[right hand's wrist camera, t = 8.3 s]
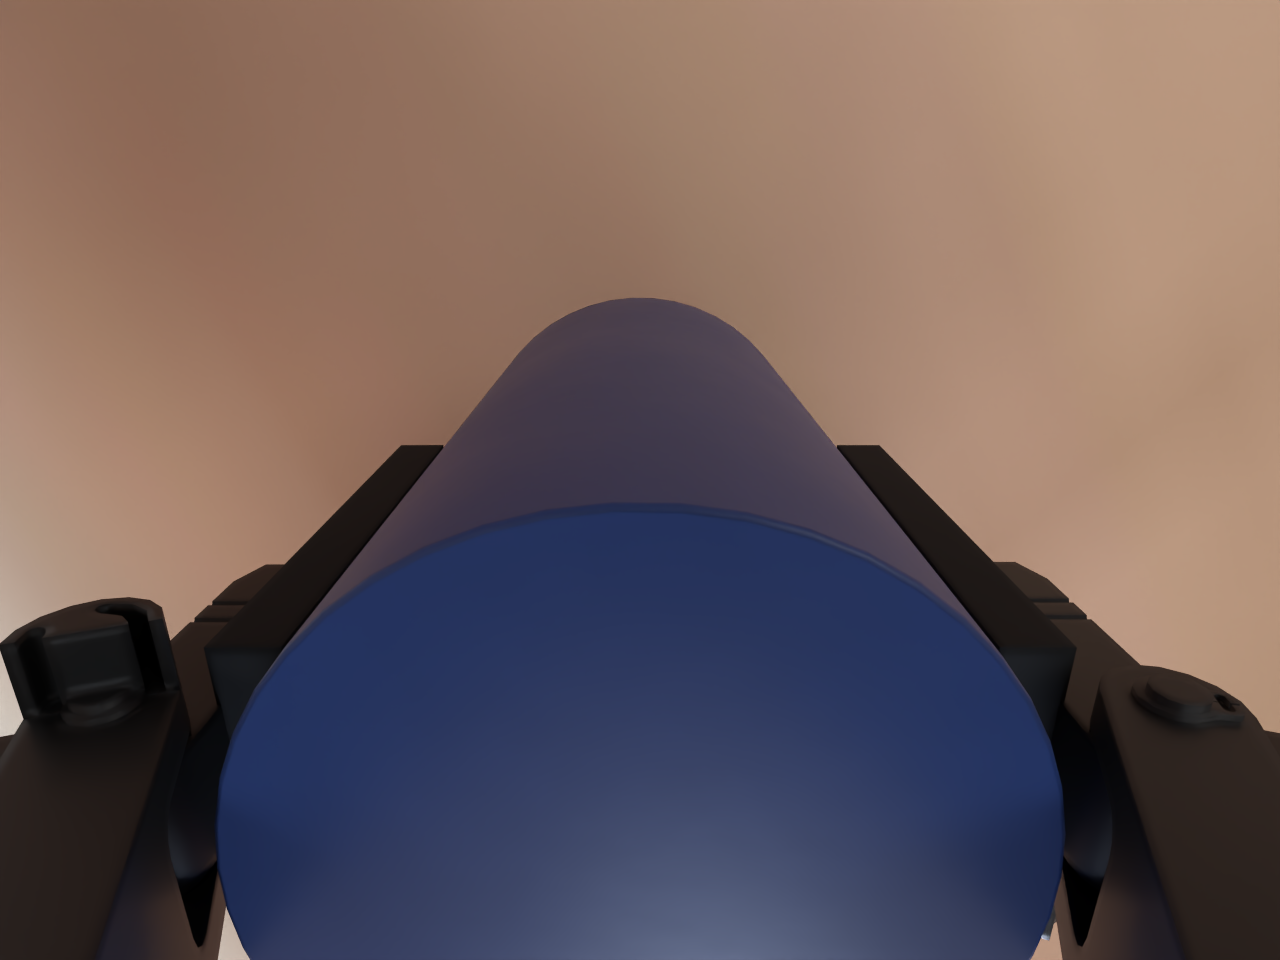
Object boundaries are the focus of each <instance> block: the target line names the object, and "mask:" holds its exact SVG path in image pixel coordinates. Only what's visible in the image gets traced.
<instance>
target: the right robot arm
mask: <svg viewBox="0 0 1280 960" xmlns="http://www.w3.org/2000/svg"><path fill="white" fill-rule="evenodd" d="M443 448H444V447H443V445H401V446H400V447H399V448H398V449H397V450H396V451H395V452H394V453H393V454H392V455H391V456H390V457H389V458H388V459H387V460H386V461H385V462H384V463H383V464H382V465H381V467H380V468H379V469H378V470H377V471H376V472H375V473H374V474H373V475H372V476H371V477H370V478H369V479H368V480H367V481H366V482H365V483H364V484H363V485H362V486H361V487H360V488H359V489H358V490H357V491H356V492H355V493H354V494H353V495H352V496H351V497H350V498H349V499H348V500H347V501H346V502H345V503H344V504H343V505H342V506H341V507H340V508H339V509H338V510H337V512H336V513H335V514H334V515H333V516H332V517H331V518H330V519H329V520H328V521H327V522H326V523H325V524H324V525H323V526H322V527H321V528H320V529H319V530H318V531H317V532H316V533H315V534H314V535H313V536H312V537H311V538H310V539H309V540H308V541H307V542H306V543H305V544H304V545H303V546H302V547H301V548H300V549H299V550H298V551H297V552H296V553H295V554H294V556H293V557H292V558H291V559H290V560H289V561H288V562H287V563H286V564H285V565H264V566H262V567H260V568H259V569H257V570H255V571H253V572H251V573H249V574H247V575H245V576H243V577H241V578H239V579H237V580H236V581H234V582H233V583H231V584H230V585H229V586H228V587H227V588H226V589H225V590H224V591H223V592H222V593H221V594H220V595H219V596H218V597H217V598H215V599H214V600H213V601H212V605H208V606H207V607H206V608H205V609H204V610H203V611H202V612H201V613H199V614H198V615H197V616H196V617H195V621H194V622H190V623H189V624H188V625H187V626H186V627H184V628H183V629H182V630H181V631H180V632H179V633H178V634H177V635H176V636H175V637H174V638H173V639H172V640H171V641H170V638H169V634H168V630H167V626H166V622H165V618H164V614H163V610H162V607H160V606H159V605H157V604H156V603H154V602H152V601H151V600H146V599H138V598H131V597H126V598H113V599H101V600H96V601H92V602H87V603H83V604H78V605H73V606H70V607H67V608H64V609H61V610H58V611H56V612H53V613H50V614H47V615H44V616H41V617H39V618H37V619H36V620H34V621H32V622H30V623H28V624H26V625H24V626H22V627H20V628H19V629H17V630H15V631H14V632H13V633H12V634H10V635H9V636H8V637H7V638H6V639H5V640H4V641H2V642H1V643H0V651H1V654H2V657H3V660H4V663H5V666H6V669H7V672H8V675H9V678H10V681H11V684H12V687H13V689H14V692H15V695H16V698H17V701H18V704H19V707H20V710H21V713H22V716H23V719H24V720H23V721H22V723H21V725H20V726H19V728H18V729H17V731H16V733H15V734H14V735H9V736H3V737H0V960H218V954H219V948H220V941H221V935H222V928H223V922H224V915H225V909H226V903H225V899H224V894H223V890H222V886H221V882H220V878H219V873H218V869H217V857H216V842H215V826H214V824H215V815H216V806H217V797H218V788H219V779H220V774H221V771H222V768H223V764H224V761H225V757H226V754H227V751H228V747H229V744H230V740H231V737H232V734H233V731H234V729H235V727H236V725H237V723H238V721H239V719H240V717H241V715H242V713H243V711H244V709H245V707H246V705H247V703H248V701H249V699H250V697H251V695H252V693H253V691H254V689H255V688H256V686H257V685H258V684H259V682H260V681H261V679H262V678H263V677H264V675H265V674H266V672H267V671H268V670H269V668H270V667H271V666H272V664H273V663H274V661H275V660H276V659H277V657H278V656H279V655H280V653H281V652H282V650H283V649H284V648H285V646H286V645H287V644H288V643H289V641H290V640H291V639H292V638H293V636H294V635H295V634H296V633H297V631H298V630H299V629H300V628H301V626H302V625H303V624H304V623H305V621H306V620H307V619H308V618H309V616H310V615H311V614H312V613H313V611H314V610H315V609H316V608H317V606H318V605H319V604H320V602H321V601H322V600H323V599H324V597H325V596H326V595H327V594H328V592H329V591H330V590H331V589H332V587H333V586H334V585H335V584H336V582H337V581H338V580H339V579H340V577H341V576H342V575H343V574H344V572H345V571H346V570H347V569H348V567H349V566H350V565H351V564H352V562H353V561H354V560H355V559H356V557H357V556H358V555H359V553H360V552H361V551H362V550H363V548H364V547H365V546H366V545H367V543H368V542H369V541H370V540H371V538H372V537H373V536H374V535H375V533H376V532H377V531H378V530H379V528H380V527H381V526H382V525H383V523H384V522H385V521H386V520H387V518H388V517H389V516H390V515H391V513H392V512H393V511H394V510H395V508H396V507H397V506H398V504H399V503H400V502H401V501H402V499H403V498H404V497H405V496H406V494H407V493H408V492H409V491H410V489H411V488H412V487H413V486H414V484H415V483H416V482H417V481H418V479H419V478H420V477H421V476H422V474H423V473H424V472H425V471H426V469H427V468H428V467H429V466H430V464H431V463H432V462H433V461H434V459H435V458H436V457H437V455H438V454H439V453H440V452H441V450H442V449H443ZM837 449H838V450H839V451H840V453H841V454H842V455H843V456H844V458H845V459H846V460H847V461H848V463H849V464H850V465H851V466H852V468H853V469H854V470H855V472H856V473H857V474H858V475H859V477H860V478H861V479H862V480H863V482H864V483H865V484H866V485H867V487H868V488H869V489H870V490H871V492H872V493H873V494H874V495H875V497H876V498H877V499H878V500H879V502H880V503H881V504H882V505H883V507H884V508H885V509H886V510H887V512H888V513H889V514H890V515H891V517H892V518H893V519H894V521H895V522H896V523H897V524H898V526H899V527H900V528H901V529H902V531H903V532H904V533H905V534H906V536H907V537H908V538H909V539H910V541H911V542H912V543H913V544H914V546H915V547H916V548H917V549H918V551H919V552H920V553H921V554H922V556H923V557H924V558H925V559H926V561H927V562H928V563H929V564H930V566H931V567H932V568H933V569H934V571H935V572H936V573H937V575H938V576H939V577H940V578H941V580H942V581H943V582H944V583H945V585H946V586H947V587H948V588H949V590H950V591H951V592H952V593H953V595H954V596H955V597H956V598H957V600H958V601H959V602H960V603H961V605H962V606H963V607H964V608H965V610H966V611H967V612H968V613H969V615H970V616H971V617H972V618H973V620H974V621H975V622H976V623H977V625H978V626H979V627H980V629H981V630H982V631H983V632H984V634H985V635H986V636H987V637H988V639H989V640H990V641H991V642H992V644H993V645H994V646H995V647H996V649H997V650H998V651H999V652H1000V654H1001V655H1002V656H1003V658H1004V659H1005V661H1006V662H1007V664H1008V665H1009V667H1010V668H1011V669H1012V671H1013V672H1014V674H1015V675H1016V677H1017V678H1018V680H1019V681H1020V683H1021V684H1022V686H1023V687H1024V689H1025V690H1026V692H1027V693H1028V695H1029V696H1030V698H1031V700H1032V702H1033V704H1034V706H1035V708H1036V711H1037V713H1038V715H1039V717H1040V719H1041V722H1042V724H1043V726H1044V728H1045V730H1046V733H1047V735H1048V737H1049V739H1050V741H1051V745H1052V749H1053V753H1054V757H1055V761H1056V765H1057V769H1058V772H1059V776H1060V780H1061V784H1062V791H1063V804H1064V818H1065V831H1066V836H1065V846H1064V856H1063V866H1062V876H1061V880H1060V883H1059V887H1058V891H1057V894H1056V898H1055V902H1054V905H1053V909H1052V913H1051V916H1050V919H1049V921H1048V923H1047V925H1046V928H1045V930H1044V932H1043V934H1042V937H1041V938H1042V939H1046V940H1049V939H1050V936H1051V932H1052V928H1053V924H1054V923H1055V922H1057V926H1058V933H1059V939H1060V946H1061V952H1062V958H1063V960H1280V733H1275V732H1270V731H1265V730H1263V728H1262V726H1261V725H1260V723H1259V721H1258V720H1257V718H1256V717H1255V716H1254V715H1253V714H1252V713H1251V712H1250V711H1249V710H1248V708H1247V707H1246V706H1245V705H1244V704H1243V703H1242V702H1241V701H1239V700H1238V699H1236V698H1235V697H1233V696H1231V695H1230V694H1228V693H1227V692H1225V691H1223V690H1222V689H1220V688H1219V687H1217V686H1215V685H1212V684H1210V683H1208V682H1205V681H1203V680H1201V679H1198V678H1196V677H1193V676H1191V675H1189V674H1185V673H1181V672H1177V671H1173V670H1169V669H1165V668H1162V667H1155V666H1143V665H1140V664H1139V663H1138V662H1137V661H1135V660H1134V659H1133V658H1132V657H1131V656H1130V655H1129V654H1128V653H1127V652H1126V651H1125V650H1124V649H1123V648H1121V647H1120V646H1119V645H1118V644H1117V643H1116V642H1115V641H1114V640H1113V639H1112V638H1111V637H1110V636H1109V635H1107V634H1106V633H1105V632H1104V631H1103V630H1102V629H1101V628H1100V627H1099V626H1098V625H1097V624H1096V623H1095V622H1093V621H1092V620H1091V619H1087V615H1086V614H1085V613H1084V612H1083V611H1082V610H1080V609H1079V608H1078V607H1077V606H1076V605H1075V604H1074V603H1069V598H1068V597H1066V596H1065V595H1064V594H1063V593H1062V592H1061V591H1060V590H1059V589H1058V588H1057V587H1056V586H1055V585H1054V584H1052V583H1051V582H1050V581H1049V580H1048V579H1047V578H1045V577H1043V576H1041V575H1039V574H1037V573H1035V572H1033V571H1031V570H1029V569H1027V568H1026V567H1024V566H1022V565H1020V564H1018V563H1016V562H993V561H992V560H991V559H990V558H989V557H988V556H987V555H986V554H985V553H984V552H983V551H982V550H981V549H980V548H979V547H978V546H977V545H976V544H975V543H974V542H973V541H972V540H971V539H970V538H969V537H968V536H967V535H966V533H965V532H964V531H963V530H962V529H961V528H960V527H959V526H958V525H957V524H956V523H955V522H954V521H953V520H952V519H951V518H950V517H949V516H948V515H947V514H946V513H945V512H944V511H943V510H942V509H941V508H940V507H939V506H938V505H937V504H936V503H935V502H934V501H933V500H932V499H931V498H930V497H929V496H928V495H927V494H926V493H925V492H924V491H923V490H922V488H921V487H920V486H919V485H918V484H917V483H916V482H915V481H914V480H913V479H912V478H911V477H910V476H909V475H908V474H907V473H906V472H905V471H904V470H903V469H902V468H901V467H900V466H899V465H898V464H897V463H896V462H895V461H894V460H893V459H892V458H891V457H890V456H889V455H888V454H887V453H886V452H885V451H884V450H883V449H882V448H881V447H880V446H879V445H837Z"/></svg>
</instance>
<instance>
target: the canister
mask: <svg viewBox="0 0 1280 960" xmlns="http://www.w3.org/2000/svg"><path fill="white" fill-rule="evenodd" d="M214 826H215V842H216V857H217V869H218V873H219V878H220V882H221V886H222V890H223V894H224V899H225V903H226V907H227V910H228V913H229V915H230V917H231V920H232V922H233V925H234V927H235V929H236V932H237V934H238V937H239V939H240V941H241V944H242V946H243V948H244V950H245V952H246V953H247V955H248V957H249V958H250V960H1030V959H1031V958H1032V956H1033V954H1034V952H1035V950H1036V948H1037V945H1038V943H1039V941H1040V939H1041V937H1042V934H1043V932H1044V930H1045V928H1046V925H1047V923H1048V921H1049V919H1050V916H1051V913H1052V909H1053V905H1054V902H1055V898H1056V894H1057V891H1058V887H1059V883H1060V880H1061V876H1062V866H1063V856H1064V846H1065V836H1066V831H1065V818H1064V804H1063V791H1062V784H1061V780H1060V776H1059V772H1058V769H1057V765H1056V761H1055V757H1054V753H1053V749H1052V745H1051V741H1050V739H1049V737H1048V735H1047V733H1046V730H1045V728H1044V726H1043V724H1042V722H1041V719H1040V717H1039V715H1038V713H1037V711H1036V708H1035V706H1034V704H1033V702H1032V700H1031V698H1030V696H1029V695H1028V693H1027V692H1026V690H1025V689H1024V687H1023V686H1022V684H1021V683H1020V681H1019V680H1018V678H1017V677H1016V675H1015V674H1014V672H1013V671H1012V669H1011V668H1010V667H1009V665H1008V664H1007V662H1006V661H1005V659H1004V658H1003V656H1002V655H1001V654H1000V652H999V651H998V650H997V649H996V647H995V646H994V645H993V644H992V642H991V641H990V640H989V639H988V637H987V636H986V635H985V634H984V632H983V631H982V630H981V629H980V627H979V626H978V625H977V623H976V622H975V621H974V620H973V618H972V617H971V616H970V615H969V613H968V612H967V611H966V610H965V608H964V607H963V606H962V605H961V603H960V602H959V601H958V600H957V598H956V597H955V596H954V595H953V593H952V592H951V591H950V590H949V588H948V587H947V586H946V585H945V583H944V582H943V581H942V580H941V578H940V577H939V576H938V575H937V573H936V572H935V571H934V569H933V568H932V567H931V566H930V564H929V563H928V562H927V561H926V559H925V558H924V557H923V556H922V554H921V553H920V552H919V551H918V549H917V548H916V547H915V546H914V544H913V543H912V542H911V541H910V539H909V538H908V537H907V536H906V534H905V533H904V532H903V531H902V529H901V528H900V527H899V526H898V524H897V523H896V522H895V521H894V519H893V518H892V517H891V515H890V514H889V513H888V512H887V510H886V509H885V508H884V507H883V505H882V504H881V503H880V502H879V500H878V499H877V498H876V497H875V495H874V494H873V493H872V492H871V490H870V489H869V488H868V487H867V485H866V484H865V483H864V482H863V480H862V479H861V478H860V477H859V475H858V474H857V473H856V472H855V470H854V469H853V468H852V466H851V465H850V464H849V463H848V461H847V460H846V459H845V458H844V456H843V455H842V454H841V453H840V451H839V450H838V449H837V448H836V446H835V445H834V444H833V443H832V441H831V440H830V439H829V438H828V436H827V435H826V434H825V433H824V431H823V430H822V429H821V428H820V426H819V425H818V424H817V423H816V421H815V420H814V419H813V418H812V416H811V415H810V414H809V412H808V411H807V410H806V409H805V407H804V406H803V405H802V404H801V402H800V401H799V400H798V399H797V397H796V396H795V395H794V394H793V392H792V391H791V390H790V389H789V387H788V386H787V385H786V384H785V382H784V381H783V380H782V379H781V377H780V376H779V375H778V374H777V372H776V371H775V370H774V369H773V367H772V366H771V365H770V364H769V362H768V361H767V360H766V358H765V357H764V356H763V355H762V354H761V353H760V352H759V351H758V349H757V348H756V347H755V346H754V345H753V344H752V343H751V342H750V341H749V340H748V339H747V338H746V337H744V336H743V335H742V334H741V333H740V332H738V331H737V330H736V329H735V328H733V327H732V326H730V325H729V324H727V323H725V322H724V321H722V320H721V319H719V318H717V317H716V316H714V315H711V314H709V313H707V312H705V311H702V310H700V309H698V308H696V307H692V306H689V305H685V304H682V303H678V302H675V301H669V300H662V299H655V298H626V299H618V300H610V301H606V302H602V303H598V304H594V305H591V306H588V307H585V308H583V309H580V310H578V311H575V312H573V313H570V314H568V315H567V316H565V317H563V318H561V319H560V320H558V321H556V322H554V323H553V324H551V325H550V326H548V327H547V328H546V329H544V330H543V331H542V332H541V333H539V334H538V335H537V336H535V337H534V338H533V339H532V340H531V341H530V342H529V343H528V344H527V345H526V346H525V347H524V348H523V349H522V350H521V351H520V352H519V354H518V355H517V356H516V357H515V359H514V360H513V361H512V363H511V364H510V365H509V366H508V368H507V369H506V370H505V371H504V373H503V374H502V375H501V376H500V378H499V379H498V380H497V381H496V383H495V384H494V385H493V386H492V388H491V389H490V390H489V391H488V393H487V394H486V395H485V396H484V398H483V399H482V400H481V401H480V403H479V404H478V405H477V406H476V408H475V409H474V410H473V412H472V413H471V414H470V415H469V417H468V418H467V419H466V420H465V422H464V423H463V424H462V425H461V427H460V428H459V429H458V430H457V432H456V433H455V434H454V435H453V437H452V438H451V439H450V440H449V442H448V443H447V444H446V445H445V447H444V448H443V449H442V450H441V452H440V453H439V454H438V455H437V457H436V458H435V459H434V461H433V462H432V463H431V464H430V466H429V467H428V468H427V469H426V471H425V472H424V473H423V474H422V476H421V477H420V478H419V479H418V481H417V482H416V483H415V484H414V486H413V487H412V488H411V489H410V491H409V492H408V493H407V494H406V496H405V497H404V498H403V499H402V501H401V502H400V503H399V504H398V506H397V507H396V508H395V510H394V511H393V512H392V513H391V515H390V516H389V517H388V518H387V520H386V521H385V522H384V523H383V525H382V526H381V527H380V528H379V530H378V531H377V532H376V533H375V535H374V536H373V537H372V538H371V540H370V541H369V542H368V543H367V545H366V546H365V547H364V548H363V550H362V551H361V552H360V553H359V555H358V556H357V557H356V559H355V560H354V561H353V562H352V564H351V565H350V566H349V567H348V569H347V570H346V571H345V572H344V574H343V575H342V576H341V577H340V579H339V580H338V581H337V582H336V584H335V585H334V586H333V587H332V589H331V590H330V591H329V592H328V594H327V595H326V596H325V597H324V599H323V600H322V601H321V602H320V604H319V605H318V606H317V608H316V609H315V610H314V611H313V613H312V614H311V615H310V616H309V618H308V619H307V620H306V621H305V623H304V624H303V625H302V626H301V628H300V629H299V630H298V631H297V633H296V634H295V635H294V636H293V638H292V639H291V640H290V641H289V643H288V644H287V645H286V646H285V648H284V649H283V650H282V652H281V653H280V655H279V656H278V657H277V659H276V660H275V661H274V663H273V664H272V666H271V667H270V668H269V670H268V671H267V672H266V674H265V675H264V677H263V678H262V679H261V681H260V682H259V684H258V685H257V686H256V688H255V689H254V691H253V693H252V695H251V697H250V699H249V701H248V703H247V705H246V707H245V709H244V711H243V713H242V715H241V717H240V719H239V721H238V723H237V725H236V727H235V729H234V731H233V734H232V737H231V740H230V744H229V747H228V751H227V754H226V757H225V761H224V764H223V768H222V771H221V774H220V779H219V788H218V797H217V806H216V815H215V824H214Z"/></svg>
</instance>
